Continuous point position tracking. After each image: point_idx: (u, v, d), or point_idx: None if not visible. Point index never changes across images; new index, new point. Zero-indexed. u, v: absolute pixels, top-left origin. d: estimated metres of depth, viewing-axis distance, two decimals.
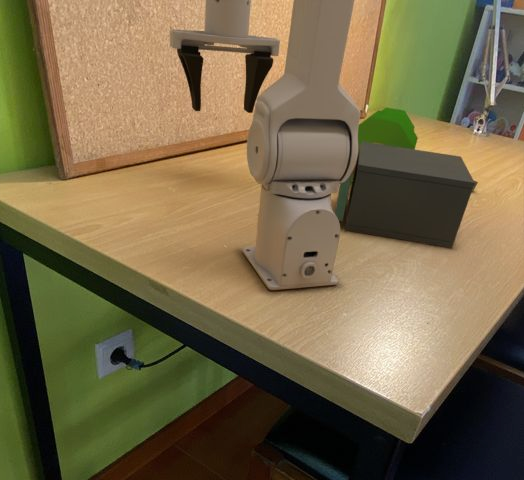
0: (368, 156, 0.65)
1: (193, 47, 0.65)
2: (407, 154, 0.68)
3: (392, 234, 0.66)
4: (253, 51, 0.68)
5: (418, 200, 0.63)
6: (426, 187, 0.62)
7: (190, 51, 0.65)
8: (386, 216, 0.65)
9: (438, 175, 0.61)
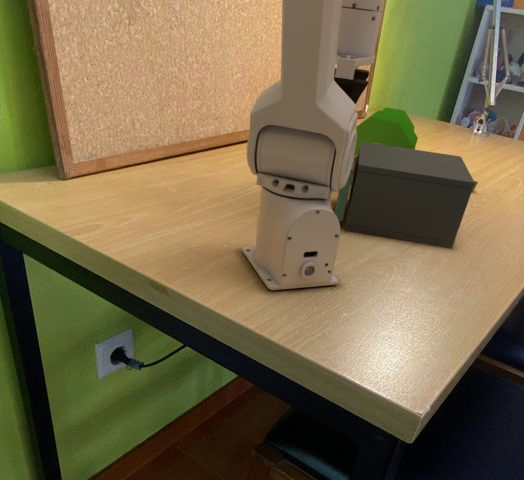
0: (368, 156, 0.65)
1: None
2: (407, 154, 0.68)
3: (392, 234, 0.66)
4: None
5: (418, 200, 0.63)
6: (426, 187, 0.62)
7: (353, 77, 0.59)
8: (386, 216, 0.65)
9: (438, 175, 0.61)
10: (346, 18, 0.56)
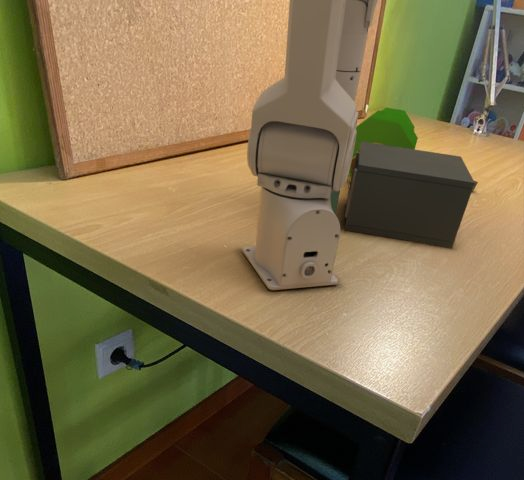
0: (368, 156, 0.65)
1: None
2: (407, 154, 0.68)
3: (392, 234, 0.66)
4: None
5: (418, 200, 0.63)
6: (426, 187, 0.62)
7: None
8: (386, 216, 0.65)
9: (438, 175, 0.61)
10: None
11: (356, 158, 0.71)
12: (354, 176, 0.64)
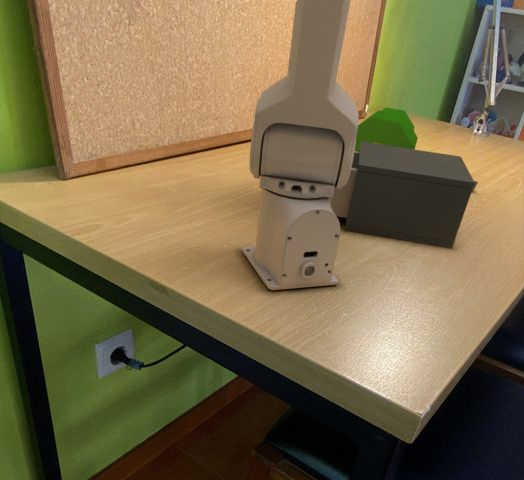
0: (368, 156, 0.65)
1: None
2: (407, 154, 0.68)
3: (392, 234, 0.66)
4: None
5: (418, 200, 0.63)
6: (426, 187, 0.62)
7: None
8: (386, 216, 0.65)
9: (438, 175, 0.61)
10: None
11: None
12: None
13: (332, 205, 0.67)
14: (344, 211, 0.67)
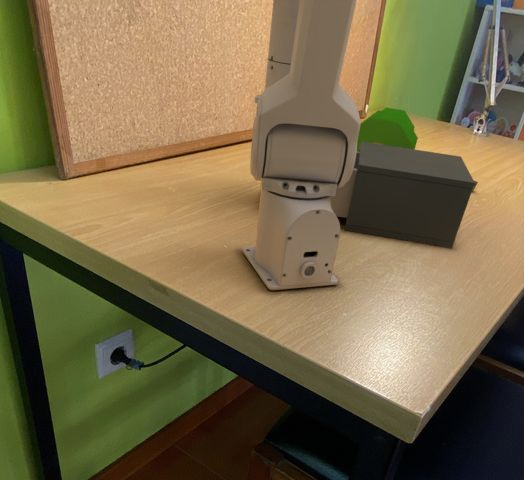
0: (368, 156, 0.65)
1: None
2: (407, 154, 0.68)
3: (392, 234, 0.66)
4: None
5: (418, 200, 0.63)
6: (426, 187, 0.62)
7: None
8: (386, 216, 0.65)
9: (438, 175, 0.61)
10: (278, 72, 0.61)
11: None
12: None
13: None
14: None
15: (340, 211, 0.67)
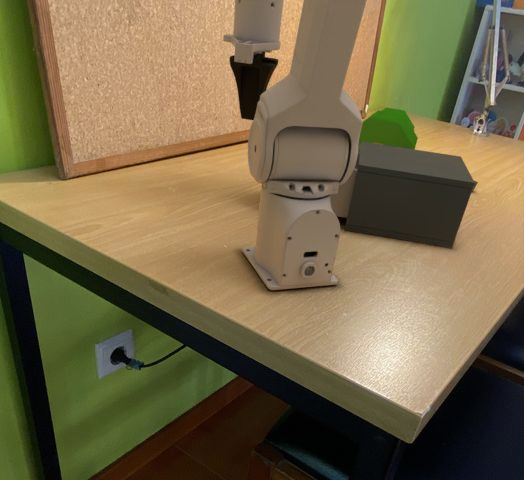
0: (368, 156, 0.65)
1: (259, 55, 0.62)
2: (407, 154, 0.68)
3: (392, 234, 0.66)
4: (263, 51, 0.66)
5: (418, 200, 0.63)
6: (426, 187, 0.62)
7: (260, 60, 0.62)
8: (386, 216, 0.65)
9: (438, 175, 0.61)
10: (246, 4, 0.58)
11: None
12: None
13: None
14: None
15: (345, 211, 0.67)
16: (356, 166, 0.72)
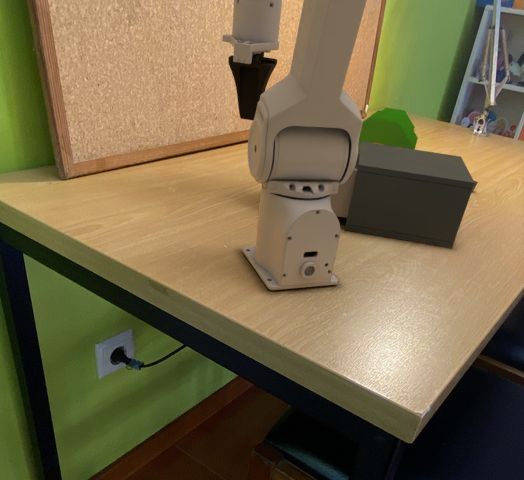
0: (368, 156, 0.65)
1: (258, 55, 0.62)
2: (407, 154, 0.68)
3: (392, 234, 0.66)
4: (261, 51, 0.66)
5: (418, 200, 0.63)
6: (426, 187, 0.62)
7: (258, 60, 0.62)
8: (386, 216, 0.65)
9: (438, 175, 0.61)
10: (245, 4, 0.58)
11: None
12: None
13: None
14: None
15: (345, 211, 0.67)
16: (356, 166, 0.72)
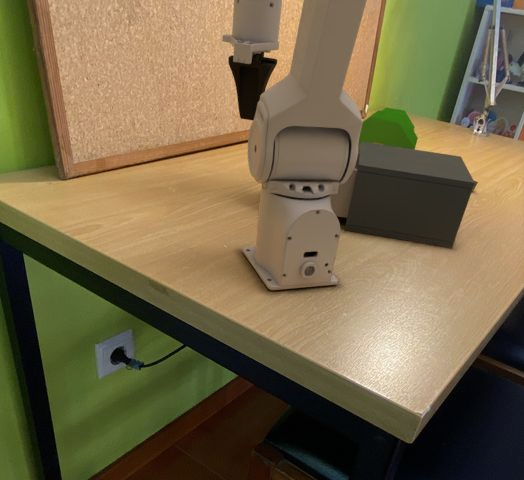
0: (368, 156, 0.65)
1: (258, 55, 0.62)
2: (407, 154, 0.68)
3: (392, 234, 0.66)
4: (261, 51, 0.66)
5: (418, 200, 0.63)
6: (426, 187, 0.62)
7: (258, 60, 0.62)
8: (386, 216, 0.65)
9: (438, 175, 0.61)
10: (245, 4, 0.58)
11: None
12: None
13: None
14: None
15: (345, 211, 0.67)
16: (356, 166, 0.72)
